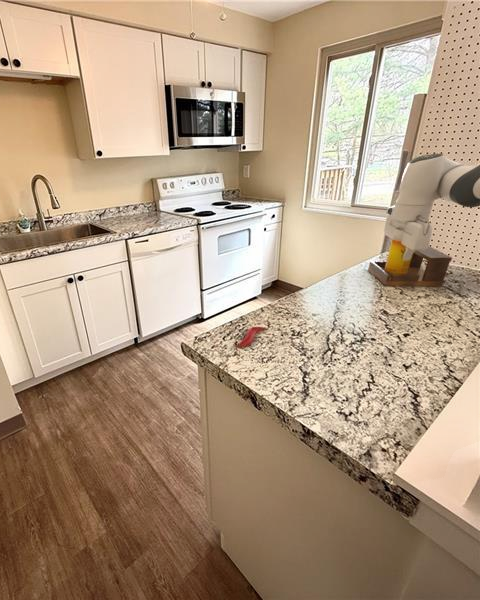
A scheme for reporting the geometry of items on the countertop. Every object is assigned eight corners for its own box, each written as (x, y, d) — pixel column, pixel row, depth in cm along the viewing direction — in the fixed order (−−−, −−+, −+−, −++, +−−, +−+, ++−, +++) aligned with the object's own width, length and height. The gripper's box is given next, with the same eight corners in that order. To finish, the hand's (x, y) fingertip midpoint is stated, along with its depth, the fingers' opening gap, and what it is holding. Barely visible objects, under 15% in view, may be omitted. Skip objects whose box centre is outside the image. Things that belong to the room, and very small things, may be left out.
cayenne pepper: (258, 326, 84) (259, 320, 83) (273, 332, 81) (273, 326, 80) (226, 341, 79) (226, 335, 78) (240, 349, 75) (240, 343, 75)
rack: (418, 270, 107) (425, 244, 104) (442, 286, 95) (452, 257, 91) (367, 270, 111) (373, 245, 107) (385, 285, 99) (392, 258, 95)
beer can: (405, 277, 99) (418, 231, 93) (382, 274, 103) (393, 230, 97) (407, 272, 103) (420, 227, 97) (385, 269, 107) (396, 225, 101)
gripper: (444, 219, 85) (429, 266, 91) (406, 206, 103) (396, 246, 109) (417, 220, 86) (404, 266, 92) (384, 207, 104) (375, 247, 110)
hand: (399, 256), depth 101 cm, fingers closed on beer can, 6 cm apart
